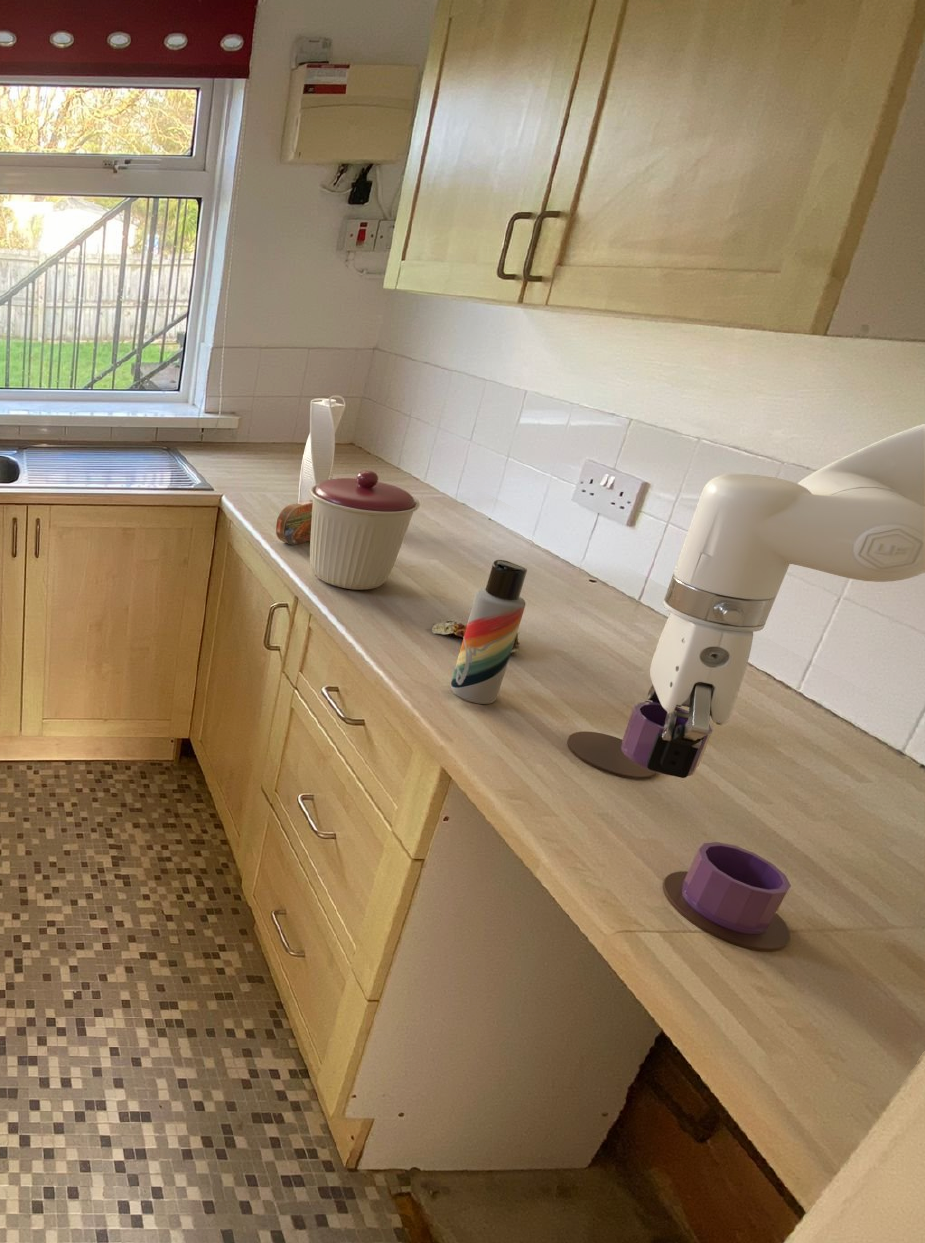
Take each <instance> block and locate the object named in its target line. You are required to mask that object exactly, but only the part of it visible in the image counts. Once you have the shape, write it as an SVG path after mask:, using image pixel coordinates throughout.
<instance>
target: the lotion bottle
mask: <svg viewBox="0 0 925 1243" xmlns="http://www.w3.org/2000/svg"><path fill="white" fill-rule="evenodd" d="M527 572H528V569H527V568H526V567H523V566H521V565H519V564H516V563H514V562H512V561H508V560H504V559H496V560H494V561H493V563H492V565H491V569H490V573H489V577H488V580H487V582H486V587H485V588H480V589H478V590H477V591H476V593H475V596H474V600H473V603H472V606H471V610H470V613H469V616H468V621H467V623H466V625H467V627H466V631H465V635H464V637H462V638H463V639H462V642H461V645H460V649H459V652H458V656H457V660H456V663H455V667H454V671H453V673H452V678H451V682H450V690H451V692H452V693H453V694H454V695H455V696H457V697H458V698H460V699H462V700H464V701H467V702H470V703H473V704H480V705H489V704H492V703H494V702H495V701H496V700H497V698H498V695H499V692H500V689H501V686H502V683H503V679H504V677H505V673H506V670H507V666H508V663H509V660H510V657H511V655H512V654H511V653H512V652H511V651H512V648H513V644H514V641H515V638H516V635H517V632H518V631H519V628H520V624H521V622H522V618H523V615H524V612H525V608H526V600H525V599H524V598H523V597H521V593H522V589H523V587H524V582H525V580H526V576H527Z"/></svg>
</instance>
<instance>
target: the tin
mask: <svg viewBox="0 0 925 1243" xmlns="http://www.w3.org/2000/svg"><path fill="white" fill-rule="evenodd" d="M312 506H313V500H309V501H304V502H300V503H298V502H296V503H292V504H288V505H287V506H285V507H284V508H283V509H282V510H281V511H280V512H279V514H278V516H277V518H276V520H277V521H276V525H275V534H276V537H277V538H278V539H279V540H280V541H281V542H284V543H286V544H288V545H290V546H295V545H299V544H303V543H306V542H310V539H311V522H312Z"/></svg>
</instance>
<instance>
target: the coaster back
mask: <svg viewBox="0 0 925 1243" xmlns="http://www.w3.org/2000/svg"><path fill="white" fill-rule="evenodd" d="M622 740H623V738H619V737H617V736H613V735H610V734H606V733H602V732H596V731H588V730H587V731H586V730H585V731H576V732H573V733H571V734H570V735H569V736H568V738H567V740H566V743H567V747H568V749H569V750H570V751H571V753H572V754H574V756H576V757H577V758H578V759H580V760H581V761H582V762H583V763H585V764H587V765H589V766H591V767H593V768H594V769H597V770H600V771H602V772H604V773H607V774H610V775H612V776H616V777H620V778H624V779H625V778H626V779H631V780H648V779H651V778H653V777H655V776H656V775H657V773H658V772H655V771H652V770H649V769H647V768H645V767H642V766H640V765H639V764H637V763H635V762H633V761H632V760H631V759H629V758H628V757H627V756H626V755H625V754H624V753H623V752H622V749H621V745H622Z"/></svg>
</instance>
